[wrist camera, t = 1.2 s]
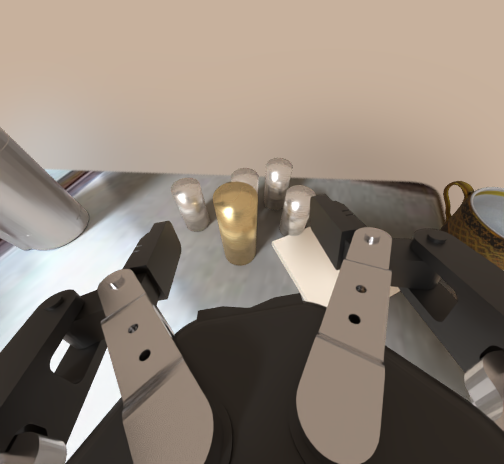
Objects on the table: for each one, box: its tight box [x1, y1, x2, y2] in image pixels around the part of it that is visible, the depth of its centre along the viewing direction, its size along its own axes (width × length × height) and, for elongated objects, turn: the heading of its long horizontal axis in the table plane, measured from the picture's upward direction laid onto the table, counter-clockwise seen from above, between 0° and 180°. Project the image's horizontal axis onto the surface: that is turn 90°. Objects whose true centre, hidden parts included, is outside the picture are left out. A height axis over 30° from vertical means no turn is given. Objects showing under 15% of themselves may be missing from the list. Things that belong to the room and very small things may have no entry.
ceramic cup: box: [440, 181, 504, 270], centre depth 28 cm, size 13×10×10 cm
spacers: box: [171, 158, 316, 237], centre depth 31 cm, size 18×12×8 cm, turn 115°
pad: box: [272, 227, 400, 307], centre depth 30 cm, size 14×14×1 cm
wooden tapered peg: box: [213, 182, 258, 266], centre depth 26 cm, size 5×5×12 cm
